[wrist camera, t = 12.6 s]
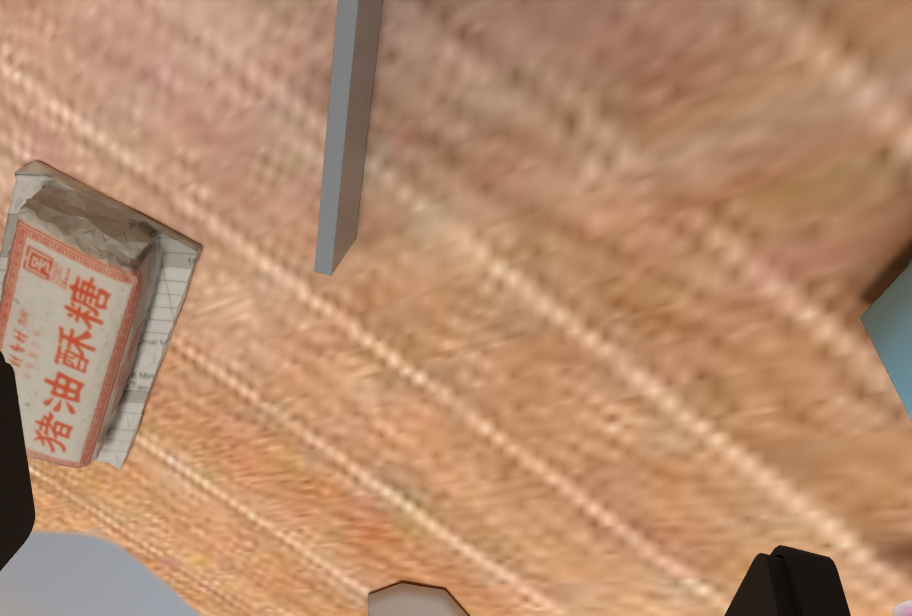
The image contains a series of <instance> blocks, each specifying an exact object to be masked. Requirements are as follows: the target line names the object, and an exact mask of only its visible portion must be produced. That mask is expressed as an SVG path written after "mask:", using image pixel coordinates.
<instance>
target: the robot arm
mask: <svg viewBox="0 0 912 616" xmlns="http://www.w3.org/2000/svg"><path fill="white" fill-rule="evenodd" d="M34 521H35V508H34V501H33V494H32V488H31V481H30V474H29V467H28V461H27V454H26V447H25V440H24V433H23V427H22V420H21V413H20V406H19V400H18V393H17V386H16V379H15V373H14V369H13V367H12V366H11V365H10V364H9V363H6V362H5V358H4V355H3V353H2V352H1V351H0V571H1V570H2V568H3V567H4V566H5V565H6V564H7V563H8V561H9V560H10V559H11V558H12V557H13V555H14V554H15V553H16V552H17V551H18V550H19V549H20V547H21V546H22V545H23V544H24V542H25V541H26V540H27V538H28V536H29V535H30V533H31V531H32V528H33V525H34ZM725 616H851V615H850V611H849V608H848V605H847V601H846V598H845V594H844V591H843V588H842V584H841V581H840V577H839V574H838V571H837V568H836V566H835V563H834V561H833V560H832V559H831V558H830V557H826V556H822V555H818V554H814V553H810V552H806V551H803V550H799V549H795V548H791V547H787V546H781V545H779V546H778V547H776V548H775V549H774V550H773V552H772V553H771V554H770V555H767V554H763V553H759V554H758V555H757V556H756V557H755V559H754V560H753V562H752V564H751V566H750V568H749V570H748V572H747V574H746V576H745V577H744V579H743V581H742V583H741V585H740V587H739V589H738V591H737V593H736V595H735V596H734V598H733V600H732V602H731V604H730V606H729V608H728V610H727V612H726V614H725Z"/></svg>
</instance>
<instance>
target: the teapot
mask: <svg viewBox="0 0 912 616" xmlns="http://www.w3.org/2000/svg"><path fill="white" fill-rule="evenodd" d="M860 318H861V320H862V322H863V324H864V326H865V328H866V330H867V332H868V334H869V336H870V338H871V340H872V342H873V344H874V346H875V348H876V350H877V352H878V354H879V356H880V358H881V360H882V362H883V364H884V366H885V368H886V370H887V372H888V374H889V376H890V378H891V380H892V382H893V384H894V386H895V388H896V390H897V392H898V394H899V396H900V398H901V400H902V402H903V404H904V406H905V408H906V410H907V412H908V414H909V416H910V418H911V420H912V258H911V259H910V261H909V263H908V266H907V268H906V269H905V270H904V271H903V272H902V273H901V274H900V275H899V276H898V277H897V278H896V279H895V280H894V282H893V283H892V284H891V285H890V286H889V287H888V288H887V289H886V290H885V291H884V292H883V293H882V294H881V295H880V296H879V298H878V299H877V300H876V301H875V302H874V303H873V304H872V305H871V306H870V307H869V308H868V309H867V310H866V312H865V313H864V314H863V315H862V316H861V317H860Z"/></svg>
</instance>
